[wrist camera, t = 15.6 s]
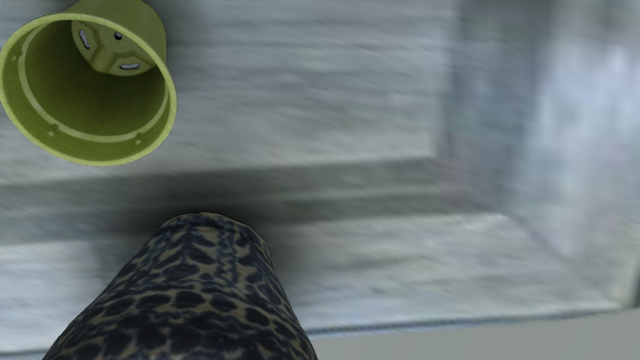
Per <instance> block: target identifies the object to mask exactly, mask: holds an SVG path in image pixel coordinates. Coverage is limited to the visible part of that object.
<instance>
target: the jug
mask: <svg viewBox="0 0 640 360" xmlns="http://www.w3.org/2000/svg"><path fill="white" fill-rule="evenodd" d="M269 253H270V251H269V249H268V248H267V246H266V244H265V242H264V241H263V240H262V239H261V238H260V237H259V236H258V235H257V234H256V232H254V231H253V230H252V229H251V228H250V227H249V226H247V225H244V224H241V223H239V222H236V221H234V220H232V219H229V218H227V217H224V216H222V215H219V214H214V213H206V212H201V213H199V214H185V215H181V216H177V217H175V218H173V219H170V220H168V221H166V222H165V223H164V224H162V225H161V226H160V227H159V228H158V229H157V230H156V231H155V233H154V234H153V235H152V236H151V238H150V239H149V240H148V241H147V242H146V244H145V245H144V247H143V248H142V249H141V250H140V251H139V253H138V254H137V255H135V256H134V257H133V258H132V259H131V260H130V261H129V262H128V263H127V264H126V265H125V266H124V267H123V268H122V269H121V271H120V272H119V273H118V274H117V275H116V277H115V278H114V279H113V280H112V281H111V283H110V284H109V285H108V286H107V288H106V289H105V290H104V291H103V292H102V293H101V294H100V295H99V296H98V297H97V298H96V299H95V300H94V301H93V302H92V303H91V304H90V305H89V306H88V307H86V308H85V309H84V310H83V311H82V312H81V313H80V314H79V315H78V316H77V317H76V318H75V319H74V320H73V321H72V322H71V323H70V324H69V325H68V327H67V328H66V329H65V330H64V331H63V332H62V334H61V335H60V336H59V337H58V338H57V339H56V341H55V342H54V344H53V345H52V346H51V348H50V349H49V350H48V352H47V353H46V355H45V356H44V358H43V359H42V360H318V358H317V356H316V353H315V351H314V348H313V346H312V344H311V342H310V341H309V339H308V337H307V335H306V334H305V332H304V330H303V329H302V327H301V325H300V323H299V321H298V319H297V318H296V316H295V314H294V312H293V310H292V307H291V305H290V303H289V301H288V298H287V296H286V294H285V292H284V290H283V287H282V285H281V283H280V281H279V279H278V277H277V275H276V274H275V272H274V269H273V266H272V262H271V260H270V255H269Z"/></svg>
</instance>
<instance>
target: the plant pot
mask: <svg viewBox="0 0 640 360" xmlns="http://www.w3.org/2000/svg"><path fill="white" fill-rule="evenodd" d="M80 30H83V31H84V33H85V36H86V40H87V42H88V45H89V46H90V49H88V48H85V46H84V44H83V42H82V40H81V38H80V35H79V31H80ZM117 32H118V33H120V34H121V35H122V39H121V40H117V39H115V36H114V34H115V33H117ZM134 63H139V64H140V66H139V67H138V68H136V69H129V70H126V69H122V68H120V65H130V64H134ZM0 101H1V103H2V105H3V107H4V109H5V111H6V113H7V115H8V116H9V118H10V119H11V121H12V122H13V123H14V124H15V126H16V127H17V128H18V129H19V130H20V131H21V133H22V134H23V135H24V136H26V137H27V138H28V139H29V140H30V141H31V142H33V143H34V144H36V145H37V146H39V147H40V148H42V149H44V150H45V151H47V152H48V153H50V154H52V155H55V156H57V157H59V158H62V159H64V160H67V161H70V162H74V163H78V164H83V165H90V166H113V165H120V164H125V163H129V162H132V161H135V160H138V159H140V158H142V157H144V156H145V155H147V154H149V153H150V152H152V151H153V150H155V149H156V148H157V147H158V146H159V145H160V144H161V143H162V142H163V141H164V139H165V138H166V137H167V136H168V134H169V132H170V130H171V129H172V126H173V124H174V121H175V117H176V112H177V93H176V88H175V84H174V81H173V78H172V76H171V74H170V71H169V70H168V68H167V66H166V33H165V29H164V26H163V24H162V21H161V19H160V18H159V16H158V14H157V13H156V12H155V10H154V9H153V8H152V7H151V6H149V5H148V4H146V3H145V2H143V1H142V0H79V1H78V2H77V3H75V4H74V5H73V6H71V7H70V8H68V9H67V10H65V11H64V12H58V13H52V14H48V15H45V16H42V17H39V18H36V19H34V20H32V21H30V22H28V23H26V24H25V25H23V26H22V27H21V28H19V29H18V30H17V31H16V32H14V33H13V34H12V35H11V36H10V38H9V39H8V40H7V41H6V43H5V44H4V46H3V48H2V49H1V52H0Z"/></svg>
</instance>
